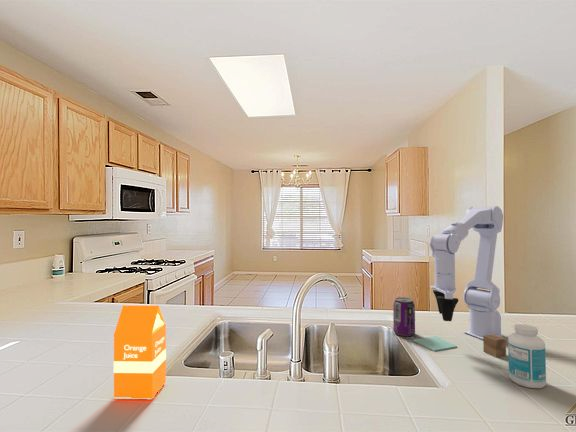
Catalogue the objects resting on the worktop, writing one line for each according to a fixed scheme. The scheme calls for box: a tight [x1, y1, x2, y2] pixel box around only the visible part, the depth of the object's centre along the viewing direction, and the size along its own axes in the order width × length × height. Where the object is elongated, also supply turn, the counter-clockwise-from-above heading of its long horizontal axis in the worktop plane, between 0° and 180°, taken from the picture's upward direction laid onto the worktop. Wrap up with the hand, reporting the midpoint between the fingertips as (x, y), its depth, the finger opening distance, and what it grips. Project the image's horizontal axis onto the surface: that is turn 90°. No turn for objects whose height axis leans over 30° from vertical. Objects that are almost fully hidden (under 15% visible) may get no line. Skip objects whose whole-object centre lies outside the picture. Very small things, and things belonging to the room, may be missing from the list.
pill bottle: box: [507, 323, 547, 389], centre depth 81 cm, size 8×7×14 cm
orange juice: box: [113, 304, 167, 398], centre depth 77 cm, size 8×9×20 cm
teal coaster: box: [413, 336, 458, 352], centre depth 106 cm, size 9×9×1 cm
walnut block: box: [483, 334, 507, 358], centre depth 98 cm, size 4×4×5 cm
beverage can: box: [392, 296, 416, 337], centre depth 115 cm, size 7×7×12 cm
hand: (445, 317), depth 102 cm, fingers open, 7 cm apart
